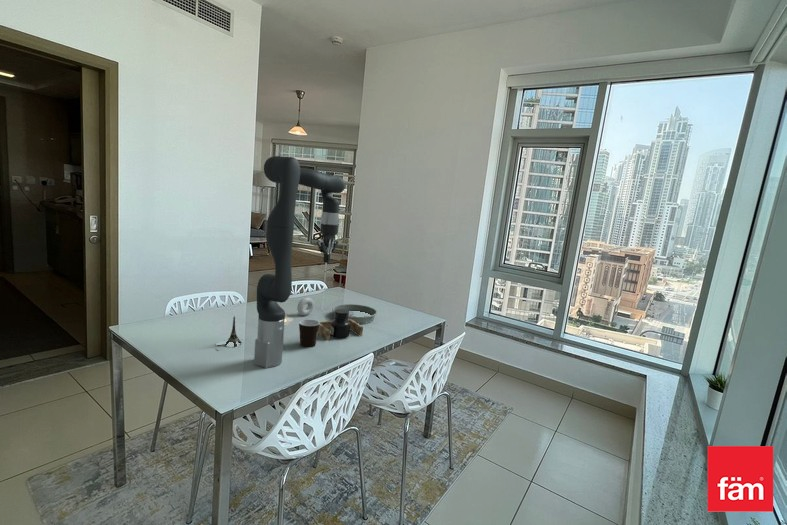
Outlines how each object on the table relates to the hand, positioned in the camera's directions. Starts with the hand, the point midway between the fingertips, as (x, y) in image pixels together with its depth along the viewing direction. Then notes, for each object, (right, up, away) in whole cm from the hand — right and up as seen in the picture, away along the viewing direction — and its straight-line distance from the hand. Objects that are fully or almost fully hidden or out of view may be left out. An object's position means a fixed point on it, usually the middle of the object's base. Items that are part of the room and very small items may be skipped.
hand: (326, 262), depth 164 cm
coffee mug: (-7, -35, -2) cm, 36 cm away
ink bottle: (+4, -35, +11) cm, 37 cm away
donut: (-18, -28, +36) cm, 49 cm away
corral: (+4, -34, +14) cm, 37 cm away
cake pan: (+8, -31, +42) cm, 52 cm away
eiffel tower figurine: (-36, -34, -11) cm, 51 cm away
